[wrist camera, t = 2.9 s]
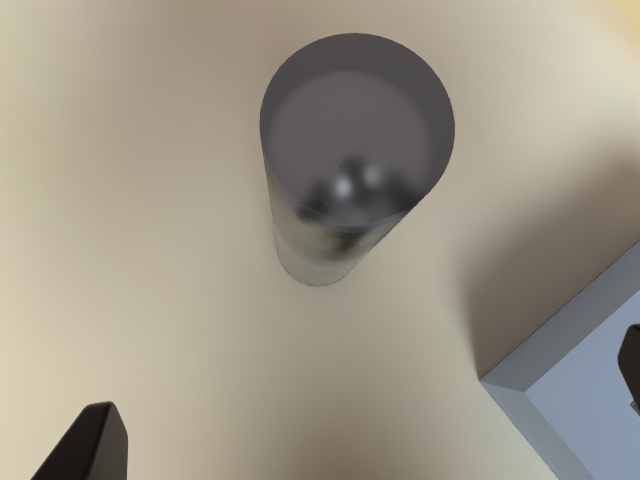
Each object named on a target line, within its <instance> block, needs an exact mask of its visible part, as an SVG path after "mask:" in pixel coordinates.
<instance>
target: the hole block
mask: <svg viewBox="0 0 640 480" xmlns="http://www.w3.org/2000/svg"><path fill="white" fill-rule="evenodd" d="M636 323H640V240H639V241H638V242H637V243H636V244H635V245H634V246H632V247H631V248H630V249H629V250H628V251H627V252H626V253H624V254H623V255H622V256H621V257H620V258H619V259H618V260H616V261H615V262H614V263H613V264H612V265H611V266H610V267H608V268H607V269H606V270H605V271H604V272H603V273H602V274H600V275H599V276H598V277H597V278H596V279H595V280H594V281H592V282H591V283H590V284H589V285H588V286H587V287H586V288H584V289H583V290H582V291H581V292H580V293H579V294H578V295H576V296H575V297H574V298H573V299H572V300H571V301H570V302H568V303H567V304H566V305H565V306H564V307H563V308H562V309H560V310H559V311H558V312H557V313H556V314H555V315H554V316H552V317H551V318H550V319H549V320H548V321H547V322H546V323H544V324H543V325H542V326H541V327H540V328H539V329H538V330H536V331H535V332H534V333H533V334H532V335H531V336H530V337H528V338H527V339H526V340H525V341H524V342H523V343H522V344H520V345H519V346H518V347H517V348H516V349H515V350H513V351H512V352H511V353H510V354H509V355H508V356H507V357H505V358H504V359H503V360H502V361H501V362H500V363H499V364H497V365H496V366H495V367H494V368H493V369H492V370H491V371H489V372H488V373H487V374H486V375H485V376H484V377H483V378H481V379H480V380H479V382H480V383H481V384H482V385H483V387H484V388H485V389H486V390H487V391H488V393H489V394H490V395H491V396H492V398H493V399H494V400H495V401H496V402H497V404H498V405H499V406H500V407H501V409H502V410H503V411H504V412H505V413H506V415H507V416H508V417H509V418H510V420H511V421H512V422H513V423H514V425H515V426H516V427H517V428H518V429H519V431H520V432H521V433H522V434H523V436H524V437H525V438H526V439H527V440H528V442H529V443H530V444H531V445H532V447H533V448H534V449H535V450H536V452H537V453H538V454H539V455H540V456H541V458H542V459H543V460H544V461H545V463H546V464H547V465H548V466H549V467H550V469H551V470H552V471H553V472H554V474H555V475H556V476H557V477H558V479H559V480H640V416H639V415H638V414H637V412H636V411H635V410H634V409H633V408H632V407H631V405H630V403H632V402H633V401H634V399H633V397H632V395H631V393H630V391H629V389H628V387H627V384H626V382H625V380H624V378H623V376H622V374H621V372H620V369H619V366H618V361H617V356H618V352H619V349H620V347H621V344H622V341H623V339H624V336H625V333H626V331H627V329H628V327H629V326H630V325H632V324H636Z"/></svg>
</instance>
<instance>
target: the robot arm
mask: <svg viewBox="0 0 640 480" xmlns="http://www.w3.org/2000/svg"><path fill="white" fill-rule="evenodd" d="M617 361H618V366H619V369H620V372H621V374H622V376H623V378H624V380H625V382H626V384H627V387H628V389H629V391H630V393H631V395H632V397H633V399H634V402H635V404H636V406H637V408H638V410H639V412H640V323H636V324H632V325H630V326H629V327H628V329H627V331H626V333H625V336H624V339H623V341H622V344H621V347H620V349H619V352H618V356H617ZM127 460H128V435H127V431H126V428H125V426H124V424H123V421H122V419H121V417H120V414H119V412H118V410H117V408H116V406H115V404H114V403H113V402H111V401H107V402H100V403H93V404H89V405H87V406H86V407H85V408H84V409H83V410H82V412H81V413H80V414H79V416H78V417H77V418H76V420H75V421H74V422H73V424H72V425H71V426H70V428H69V429H68V430H67V432H66V433H65V434H64V436H63V437H62V438H61V440H60V441H59V442H58V444H57V445H56V446H55V448H54V449H53V450H52V452H51V453H50V454H49V456H48V457H47V458H46V460H45V461H44V462H43V464H42V465H41V466H40V468H39V469H38V470H37V472H36V473H35V474H34V476H33V477H32V478H31V480H127Z"/></svg>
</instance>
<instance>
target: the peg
mask: <svg viewBox="0 0 640 480" xmlns="http://www.w3.org/2000/svg"><path fill="white" fill-rule="evenodd" d="M260 136H261V143H262V150H263V156H264V163H265V170H266V176H267V183H268V190H269V196H270V203H271V210H272V216H273V223H274V229H275V236H276V243H277V249H278V255H279V258H280V261H281V263H282V265H283V267H284V269H285V270H286V271H287V272H288V274H289V275H290V276H292V277H293V278H294V279H296V280H297V281H299V282H301V283H303V284H306V285H310V286H326V285H330V284H333V283H335V282H337V281H339V280H340V279H342V278H343V277H344V276H345V275H346V274H347V273H348V272H349V271H350V270H351V269H352V268H353V267H354V266H356V265H357V264H358V263H359V262H360V261H361V260H362V259H363V258H364V257H365V256H366V255H367V254H368V253H369V252H370V251H371V250H372V249H373V248H374V247H375V246H376V245H377V244H378V243H379V242H380V241H381V240H382V239H383V238H384V237H385V236H386V235H387V234H388V233H389V232H390V231H391V230H392V229H393V228H394V227H395V226H396V225H397V224H398V223H399V222H400V221H401V220H402V219H403V218H404V217H405V216H406V215H407V214H408V213H409V212H410V211H411V210H412V209H413V208H414V207H415V206H416V205H417V204H418V203H419V202H420V201H421V200H422V199H423V198H424V197H425V196H426V195H427V194H428V193H429V192H430V191H431V190H432V188H433V187H434V186H435V185H436V183H437V182H438V181H439V179H440V178H441V176H442V174H443V173H444V171H445V169H446V167H447V164H448V162H449V160H450V156H451V153H452V149H453V144H454V137H455V123H454V116H453V110H452V106H451V103H450V99H449V97H448V95H447V92H446V90H445V88H444V86H443V84H442V83H441V81H440V79H439V78H438V76H437V75H436V74H435V72H434V71H433V70H432V68H431V67H430V66H429V65H428V64H427V63H426V62H425V61H424V60H423V59H422V58H420V57H419V56H418V55H417V54H415V53H414V52H413V51H411V50H409V49H408V48H406V47H405V46H403V45H401V44H399V43H396V42H394V41H392V40H389V39H386V38H383V37H380V36H375V35H370V34H359V33H349V34H339V35H333V36H329V37H326V38H323V39H319V40H317V41H315V42H313V43H310V44H308V45H306V46H305V47H303V48H302V49H300V50H298V51H297V52H296V53H294V54H293V55H292V56H291V57H290V58H288V59H287V60H286V61H285V63H284V64H283V65H282V66H281V67H280V68H279V69H278V71H277V72H276V74H275V75H274V76H273V78H272V80H271V82H270V84H269V86H268V88H267V90H266V93H265V95H264V98H263V102H262V107H261V112H260Z"/></svg>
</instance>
